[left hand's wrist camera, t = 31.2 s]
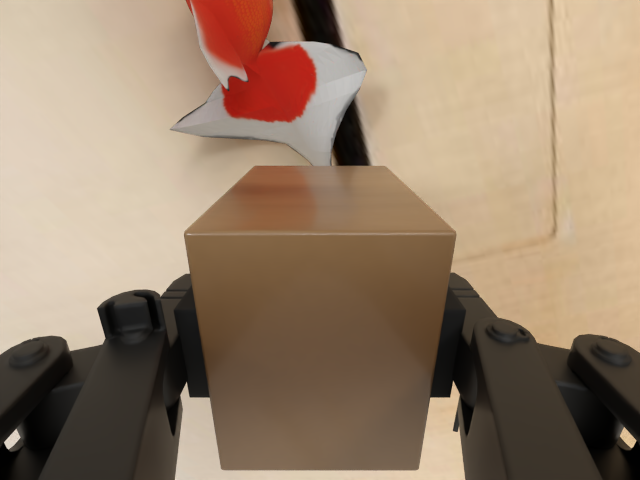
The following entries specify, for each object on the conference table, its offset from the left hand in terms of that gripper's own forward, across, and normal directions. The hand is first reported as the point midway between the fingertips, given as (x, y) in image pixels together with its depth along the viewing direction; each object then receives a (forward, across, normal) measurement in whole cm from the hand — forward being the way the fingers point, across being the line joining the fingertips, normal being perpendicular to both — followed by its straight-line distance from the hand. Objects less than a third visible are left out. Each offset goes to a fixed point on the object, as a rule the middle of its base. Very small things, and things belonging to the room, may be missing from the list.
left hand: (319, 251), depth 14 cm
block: (+1, 0, 0) cm, 1 cm away
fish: (+12, +3, -8) cm, 15 cm away
